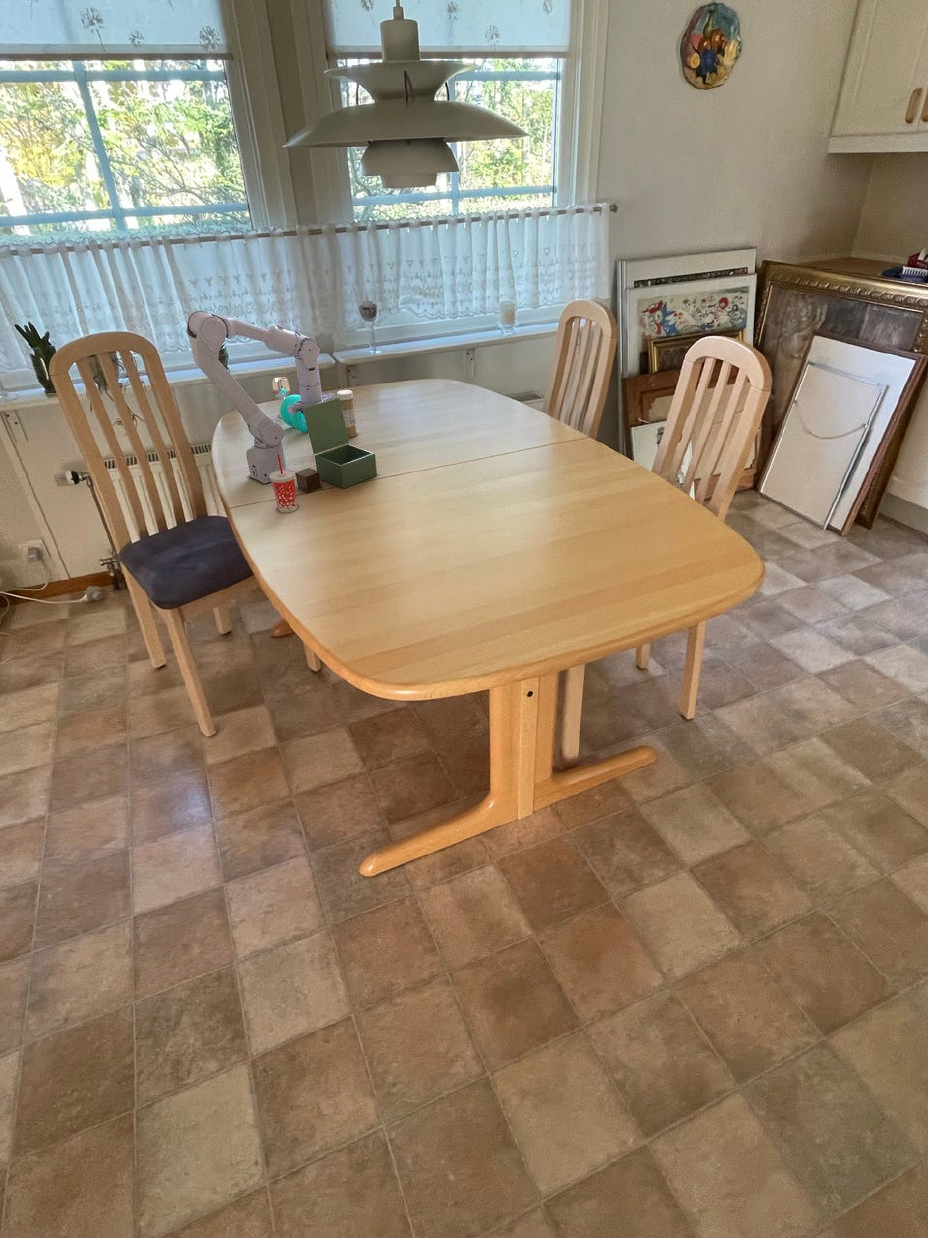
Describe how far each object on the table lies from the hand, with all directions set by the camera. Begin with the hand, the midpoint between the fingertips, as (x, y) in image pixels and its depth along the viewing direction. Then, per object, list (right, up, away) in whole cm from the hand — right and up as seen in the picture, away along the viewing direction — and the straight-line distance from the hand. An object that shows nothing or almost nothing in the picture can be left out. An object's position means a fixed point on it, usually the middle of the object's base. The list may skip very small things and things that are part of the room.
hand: (316, 433), depth 193 cm
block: (0, -17, -10) cm, 20 cm away
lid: (+4, 0, -8) cm, 9 cm away
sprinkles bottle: (+5, +5, +22) cm, 23 cm away
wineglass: (-18, +16, +39) cm, 46 cm away
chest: (+9, -13, -4) cm, 16 cm away
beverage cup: (-3, -24, -20) cm, 31 cm away
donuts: (-10, +9, +28) cm, 31 cm away
